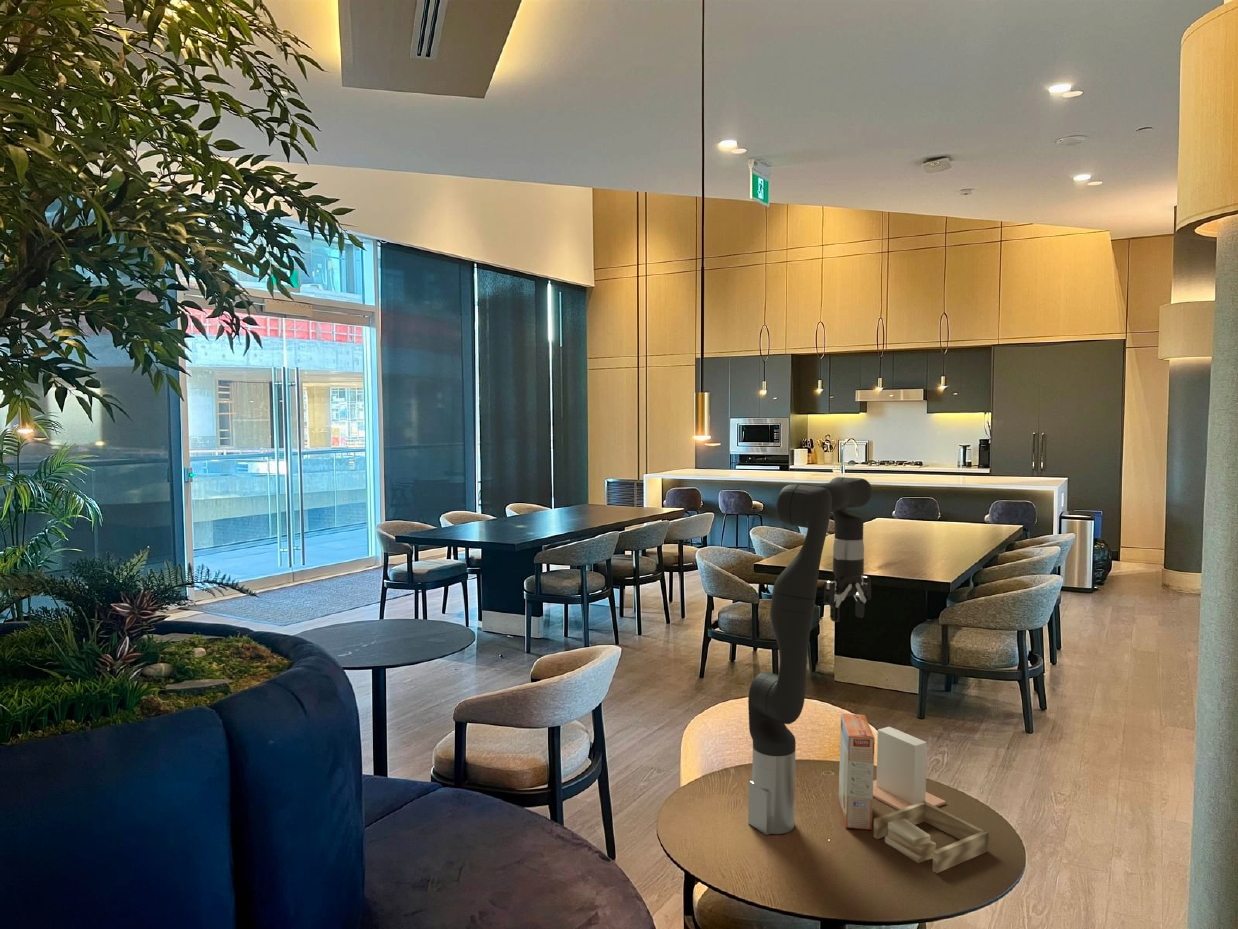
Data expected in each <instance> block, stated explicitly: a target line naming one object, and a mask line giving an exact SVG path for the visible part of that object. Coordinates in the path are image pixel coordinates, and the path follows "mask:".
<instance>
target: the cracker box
mask: <svg viewBox="0 0 1238 929" xmlns="http://www.w3.org/2000/svg"><path fill="white" fill-rule="evenodd" d="M873 733H874V732H873V731H872V728H871V726H870V724H869V720H868V719H867V715H865V714H858V713H841V714H840V737H839V738H840V739H839V740H840V742H839V744H840V745H839V772H838V773H839V775H838V802H839V806H840V811H841V814H842V818H843V822H844V825H845V828H847V829H856V830H859V829H860V830H866V831H867V830H869V831H871V830H873V829H872V827H873V799H874V797H873V781H874V769H875V768H874V763H875V744H876V743H875V740H876V739H875V736H874V734H873Z"/></svg>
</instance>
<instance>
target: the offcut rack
mask: <svg viewBox="0 0 1238 929" xmlns="http://www.w3.org/2000/svg"><path fill="white" fill-rule="evenodd" d="M901 819H906V820H907V821H909V822H911V823H912V824H914V825H915V826H917V825H918V824H921V823H924V822H925V823H927V824H928V825H931V826H933V827H934V828H937V829H938V830H940V831H942V832H944V833H946V834H947V835H950V836H951V837H954V838H956V839H957V840H958V841H955V842H953V843H950V844H947V845H945V846H942V847H939V848H938V849H936V850H935V851H933V858H932V869H931V870H932V872H934V873H935V874H938V873H942V872H943V871H945V870H949V869H950V868H952V867H954V866H957V865H959V864H963V863H964V862H966V861H967V862H968V861H969V860H972V859H973V858H976V857H978V856H981V855H983V854H985V853H987V852H989V832H988V831H986V830H984V829H982V828H980V827H978V826H976V825H974V824H972V823H970V822H968V821H966V820H964V819H962V818H960V817H957V816H956V815H953V814H951V813H950V812H947V811H946V810H944V809H942V808H939V806H938V807H936V806H934V805H932V804H930V803H928V802H925V801H923V802H920V803H917V804H914V805H911V806H909V807H906V808H903V809H900V810H897V809H896V810H895V811H892V812H890V813H887V814H884V815H881V816H878V817H874V818H873V838H874V839H876V840H878V839H882V838H885V836H888V831H889V830H888V822H892V821H897V820H901Z"/></svg>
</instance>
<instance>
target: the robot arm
mask: <svg viewBox="0 0 1238 929" xmlns="http://www.w3.org/2000/svg"><path fill="white" fill-rule="evenodd" d="M872 495H873V487H872V485H871V483H870V482H869V481H868V480H867V479H865V478H861V477H847V476H846V477H843V476H837V477H833V478H832V479H831V480H830V481H829V482H826V483H825V482H824V483H822V484H817V485H816V484H815V485H805V484H798V483H797V484H793V483H792V484H788V485H786V486H784V487H783V488H782V489H781V490H780V491H779V493H778V496H777V500H776V506H775V507H776V515H777V517H778V520H779V521H780V522H782V523H783V524H786V525H788V526H794V527H800V528H804V529H807V531H806V535H805V539H804V541H803V543H802V546H801V547H800V550H799V551H798V553H797V554H796V556H795V557H794V558H793V559H792V561H791V562H790V563H789V564H788V565H787V566H786V567H785V568H784V570H783V571H781V573H780V574H779V575H778V577H777V578H776V580H775V582H774V584H773V589H772V596H771V603H770V608H769V610H770V611H769V614H770V616H769V617H770V621H771V625H772V630H773V633H774V635H775V639H776V643H777V646H778V651H779V669H778V674H776V673H773V672H769V671H763V672H759V673H757V675H756V676H755V677H754V678H753V679H752V681H751V684H750V687H749V688H748V696H747V697H748V700H747V701H748V702H747V704H748V705H747V706H748V724H749V725H748V726H749V727H748V730H749V734H750V737H751V739H752V772H751V773H752V774H751V776H752V777H751V778H752V780H749V781H748V796H747V797H748V798H747V799H748V800H747V801H748V805H747V806H748V807H747V809H748V810H747V813H748V814H747V815H748V816H747V823H748V824H749V825H750V826H751V827H753V828H755V829H757V830H758V831H759V832H761V833H762V834H763V835H782V834H787V833H789V832H792V830H793V829H794V828H795V811H796V810H795V809H796V808H795V806H796V803H795V802H796V801H795V800H796V798H795V796H796V792H795V791H796V786H795V785H796V742H797V740H796V738H795V735H794V734H793V732H792V731H791V730H790V729H789V728H788V727H787V726H786V725H790V724H793V723H794V722H796V721H797V720H798V719H799V718H800V715H801V713H802V711H803V709H804V704H805V700H806V698H805V697H806V689H807V688H806V684H807V667H808V666H807V665H808V652H809V644H810V638H811V637H810V636H811V635H810V634H811V627H812V622H813V617H814V614H815V613H814V612H815V604H816V598H817V590H818V589H817V588H818V581H819V575H820V574H819V573H820V566H821V560H822V556H823V549H824V546H825V542H826V537H827V534H828V530H829V524H830V519H831V514H832V515H833V520H834V540H833V547H832V548H833V549H832V553H833V554H832V573H833V575H834V580H833V581H831V580H825V581H824V586H823V587H824V590H823V604H824V605H826V606H830V607H829V608H830V610H829V617H830V621H831V622H835V623H839V622H840V609H841V607H840V605H841V603H842V602H843V601H844V600H846V598H849V597H850V596H851V597H852V596H853V597H854V599H855V603H854V604H855V607H854V608H855V617H857V618H862V619H863V618H864V617H865V608H866V607H865V605H866V602H867V601H868V600H869V601H870V600H871V599H872V580H871V577H870V576H867V575H864V572H865V571H864V568H865V567H864V566H865V565H864V564H865V545H864V519H863V517H862V516H861V515H857V514H854V513H852V512H850V511H848V509H847V508H859V507H864V506H866V505H867V504H868V503H869V502H870V500H872V497H873V496H872Z"/></svg>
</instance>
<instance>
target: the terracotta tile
mask: <svg viewBox="0 0 1238 929" xmlns="http://www.w3.org/2000/svg"><path fill="white" fill-rule="evenodd" d="M876 782H877V779H875V780H874V779H873V798H874V797H875V798H874V799H876V800H878V801H879V802H881V801H882V803H884V804H885V805H887V806H890V807H891V808H893V809H895V810H896V811H897V810H900V809H903V808H906V807H909V806H911V805H912V804H910V803H908V802H906V801H904V800H902V799H900V798H898V797H896V796H894V795H892V794H890V793H888V792H886V791H884V790H882V789H880V788H879V787H877V786H876ZM925 802H928V803H930V804H932V805H934V806H936V807H938V808H939V807H940V806H943V805H946V804H947V802H946V800H944V799H942V798H939V797H938V796H935V795H933V794H932V793H929V792H927V791H926V797H925Z"/></svg>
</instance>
